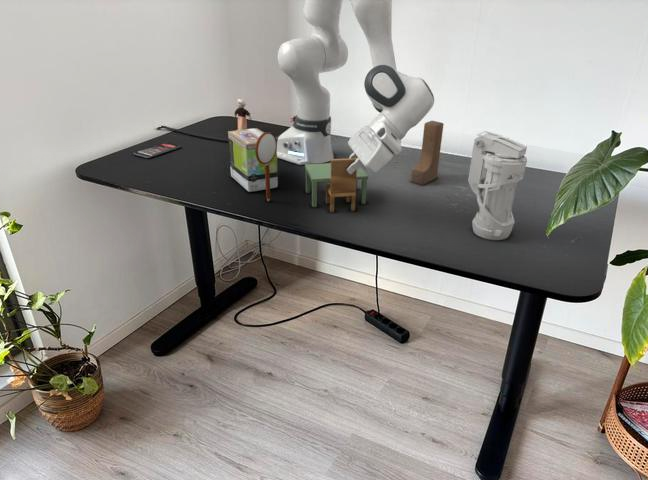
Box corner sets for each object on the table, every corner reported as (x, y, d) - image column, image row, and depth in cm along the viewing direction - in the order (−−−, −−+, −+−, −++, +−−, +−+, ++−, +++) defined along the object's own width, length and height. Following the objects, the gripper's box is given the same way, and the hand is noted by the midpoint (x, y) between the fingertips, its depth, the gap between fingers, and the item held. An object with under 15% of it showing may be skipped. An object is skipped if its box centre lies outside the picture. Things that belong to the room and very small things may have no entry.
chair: (325, 202, 156) (326, 151, 148) (349, 200, 157) (351, 150, 150) (330, 212, 150) (331, 160, 142) (354, 210, 152) (357, 159, 144)
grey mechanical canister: (517, 231, 144) (537, 139, 131) (500, 244, 137) (520, 148, 124) (473, 217, 151) (488, 128, 138) (455, 229, 144) (469, 136, 131)
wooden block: (422, 185, 170) (428, 128, 160) (410, 181, 172) (416, 125, 163) (437, 178, 176) (444, 122, 166) (425, 174, 178) (431, 120, 169)
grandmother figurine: (232, 132, 210) (229, 99, 204) (235, 129, 214) (233, 97, 207) (251, 134, 209) (249, 100, 203) (254, 131, 213) (252, 98, 206)
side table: (305, 191, 162) (304, 164, 158) (356, 188, 166) (357, 161, 161) (312, 207, 152) (312, 179, 148) (366, 204, 156) (368, 176, 151)
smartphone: (180, 145, 192) (147, 156, 181) (181, 147, 192) (147, 158, 181) (166, 141, 195) (132, 152, 184) (166, 143, 196) (132, 154, 184)
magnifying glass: (275, 195, 159) (273, 128, 148) (280, 197, 158) (278, 129, 148) (256, 205, 152) (252, 135, 142) (261, 207, 151) (257, 136, 141)
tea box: (279, 187, 164) (277, 139, 156) (248, 193, 159) (245, 144, 152) (259, 171, 175) (257, 126, 167) (230, 176, 170) (226, 130, 163)
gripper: (366, 114, 149) (331, 150, 152) (387, 136, 132) (347, 176, 135) (380, 129, 153) (345, 164, 155) (403, 153, 136) (363, 191, 139)
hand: (346, 170), depth 145 cm, fingers closed on chair
